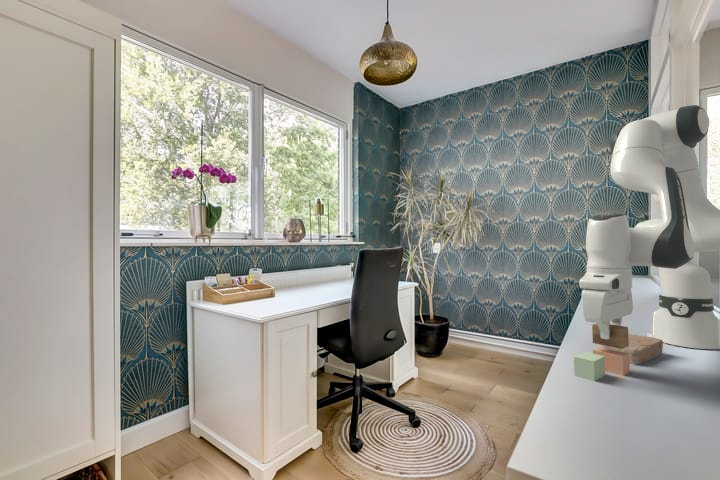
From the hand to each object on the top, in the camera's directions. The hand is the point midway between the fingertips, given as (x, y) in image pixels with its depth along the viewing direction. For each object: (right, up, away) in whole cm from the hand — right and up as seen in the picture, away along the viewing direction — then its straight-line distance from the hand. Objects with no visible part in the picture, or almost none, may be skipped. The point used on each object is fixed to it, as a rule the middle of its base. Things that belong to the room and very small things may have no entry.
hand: (610, 336), depth 80 cm
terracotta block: (0, -8, 0) cm, 8 cm away
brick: (+14, -9, +10) cm, 19 cm away
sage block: (-7, -8, -3) cm, 11 cm away
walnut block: (0, -2, 0) cm, 2 cm away
